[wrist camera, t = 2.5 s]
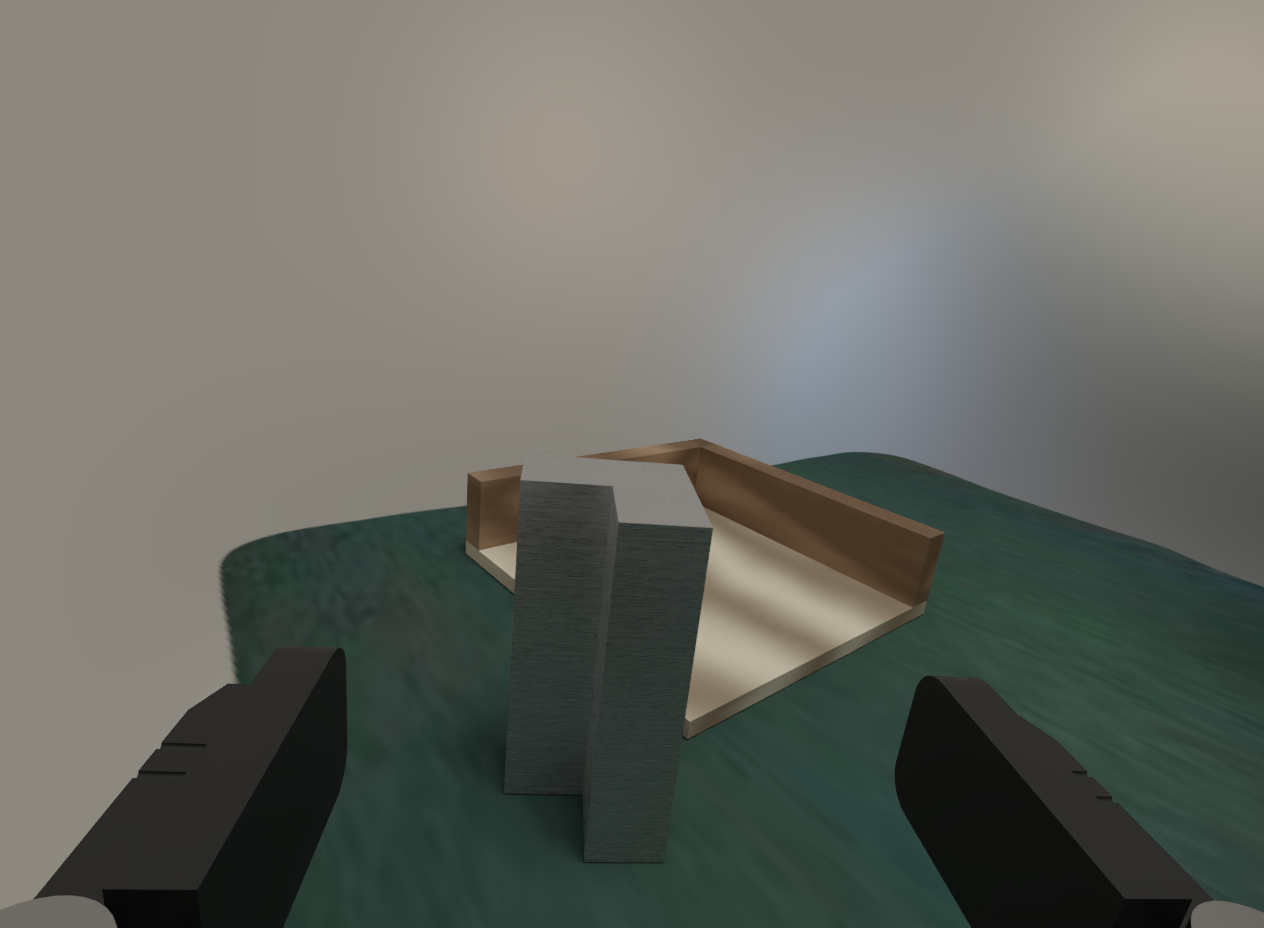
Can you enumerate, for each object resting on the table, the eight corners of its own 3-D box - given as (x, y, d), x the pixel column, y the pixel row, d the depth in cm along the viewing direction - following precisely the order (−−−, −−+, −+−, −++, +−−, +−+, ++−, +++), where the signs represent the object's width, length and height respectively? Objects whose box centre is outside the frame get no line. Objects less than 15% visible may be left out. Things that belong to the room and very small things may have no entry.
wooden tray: (692, 501, 50) (700, 438, 49) (923, 613, 37) (944, 532, 36) (465, 553, 39) (467, 473, 37) (687, 739, 26) (704, 628, 24)
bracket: (646, 745, 25) (682, 464, 22) (663, 862, 21) (713, 527, 17) (509, 742, 25) (525, 454, 22) (495, 861, 20) (512, 516, 17)
